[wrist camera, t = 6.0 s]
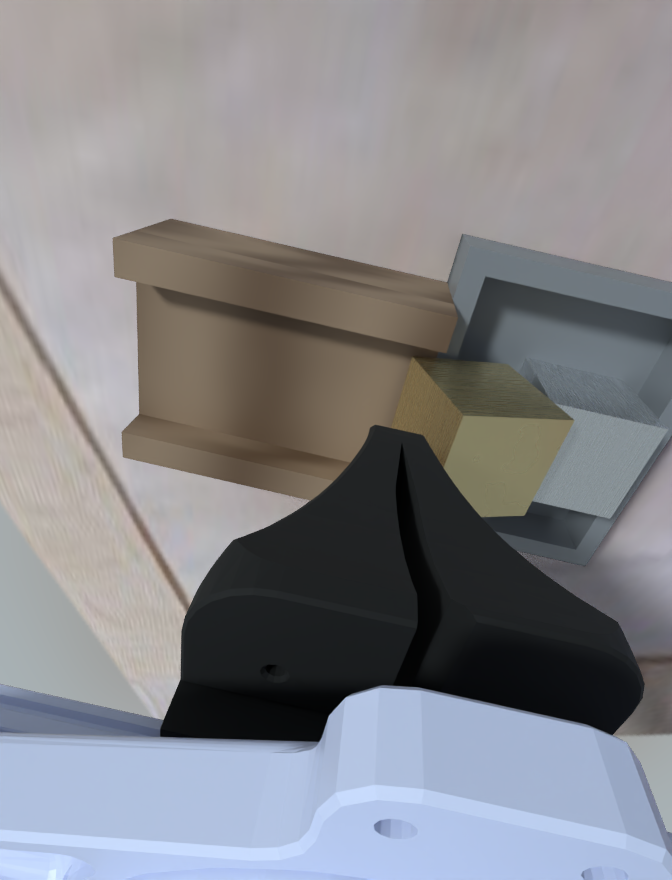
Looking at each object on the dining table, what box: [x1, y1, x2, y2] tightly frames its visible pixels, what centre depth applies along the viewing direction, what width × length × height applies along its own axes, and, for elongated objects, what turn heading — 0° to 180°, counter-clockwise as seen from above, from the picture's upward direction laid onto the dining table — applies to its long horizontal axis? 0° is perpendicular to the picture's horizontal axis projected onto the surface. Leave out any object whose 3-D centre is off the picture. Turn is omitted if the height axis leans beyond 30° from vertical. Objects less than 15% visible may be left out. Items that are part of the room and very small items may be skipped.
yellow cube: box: [391, 356, 575, 517], centre depth 17 cm, size 4×4×4 cm
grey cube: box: [519, 358, 669, 519], centre depth 19 cm, size 4×4×4 cm
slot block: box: [113, 219, 458, 500], centre depth 19 cm, size 11×8×4 cm
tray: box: [437, 234, 672, 566], centre depth 20 cm, size 10×12×2 cm
